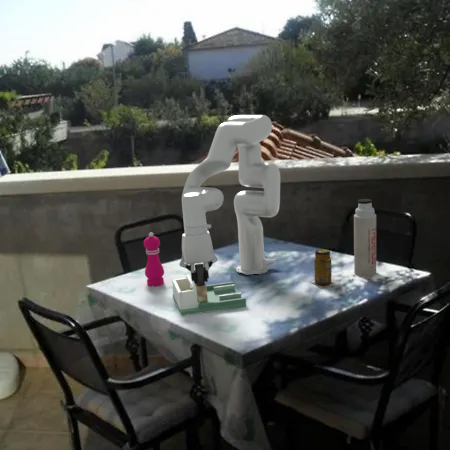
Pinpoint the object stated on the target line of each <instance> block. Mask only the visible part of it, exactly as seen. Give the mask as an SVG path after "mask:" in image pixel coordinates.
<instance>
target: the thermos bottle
mask: <svg viewBox="0 0 450 450" xmlns="http://www.w3.org/2000/svg"><path fill="white" fill-rule="evenodd" d="M357 203H358V205H357V206H358V207H357V208H355V211H354V212H355V214H354V215H353V250H354V251H353V254H354V255H353V256H354V257H353V262H354V265H353V266H354V271H353V273H354V275H355V276H358V277H360V278H361V277H364V278H368V277H373V276H376V275H377V214H376V213H375V208H374V207H373V205H372V199H369V198H361V199H357Z"/></svg>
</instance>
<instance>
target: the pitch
mask: <svg viewBox="0 0 450 450" xmlns="http://www.w3.org/2000/svg"><path fill="white" fill-rule="evenodd" d="M232 284H234V281H228V282H221V283H220V282H219V283H214V284H205V285H206V286H207V298H208V301H202V302H199V301H198V299H197V303H198V307H197V308H190V309H183V310H180V309H179V307H178V305H177V302H176V300H175V298H174V296H173V295H172V298H173V301H174V302H175V305H176V307H177V309H178V312H179V313H180V316H181V315H182V316H187V315H194V314H202V313H208V312H209V313H210V312H216V311H222V310H228V309H235V308H243V307H247V298H246V297H243V296H241V298H238V299H231V300H224V301H219V295H226V294H233V293H239V292H238V289H236V288H235V290H234V291H227V292H219V293H214V287H218V286H225V285H232ZM234 285H235V284H234ZM190 290H193V289H192V287H191V286H190Z"/></svg>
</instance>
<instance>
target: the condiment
mask: <svg viewBox="0 0 450 450" xmlns="http://www.w3.org/2000/svg"><path fill="white" fill-rule="evenodd" d="M314 253H315V254H314V255H315V256H314V259H313V261H314V263H313V264H314V267H313V269H314V279H313V280H309V282H310V283H312V284H314V285H315V286H317V287H318V288H320V289H322V288H323V289H324V288H329V287H334V286H338V285H339V284H338V283H337V282H335V281H333V280H332V271H333V270H332V269H333V268H332V257H331V251H330V250H329V249H328V248H327V249H326V248H318V249H316V250H315V252H314Z"/></svg>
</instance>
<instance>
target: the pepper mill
mask: <svg viewBox="0 0 450 450" xmlns="http://www.w3.org/2000/svg"><path fill="white" fill-rule="evenodd" d="M154 234H155V233H153V232H149V233H148V236H147V237H146V238H145V239H144V240H143V246H144V248H145V253H146V255H147V262H146V265H145V269H144V274H145V277H146V278H147V279H146V283H147V286H149V287H159V286H162V285H164V284H165V283H164V282H165V281H164V280H165V279H164V277H163V276H164V274H165V269H164V266H163V264H162V263H161V261H160V256H159V253H160V248H159V247H160V245H161V241H160V239H159V237H157V236H155V235H154Z"/></svg>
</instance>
